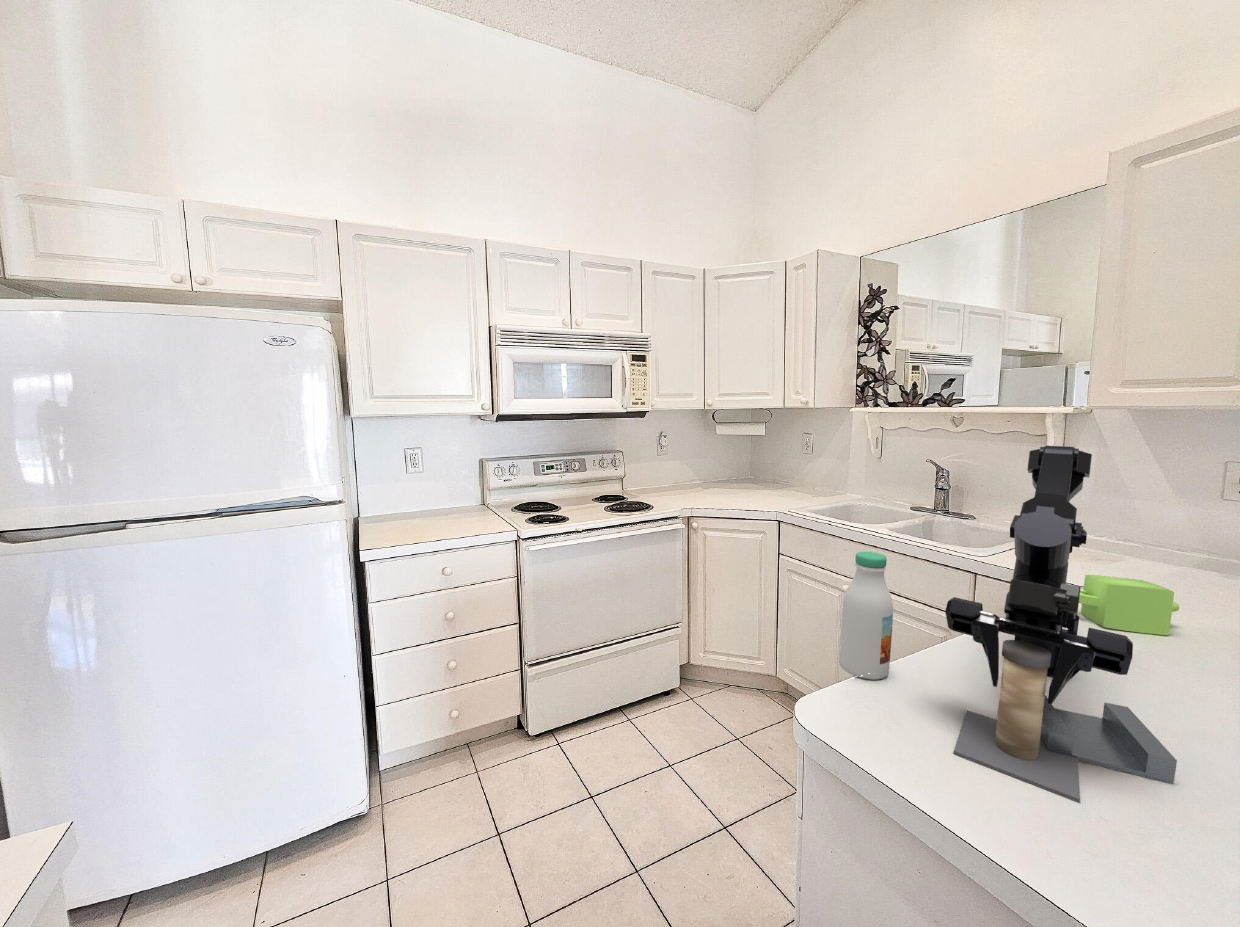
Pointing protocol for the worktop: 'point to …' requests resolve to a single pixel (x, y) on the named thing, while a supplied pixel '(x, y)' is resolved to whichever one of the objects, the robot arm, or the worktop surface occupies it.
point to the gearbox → (1127, 604)
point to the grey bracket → (1107, 741)
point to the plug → (1022, 698)
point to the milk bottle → (867, 620)
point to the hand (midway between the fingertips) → (1021, 693)
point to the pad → (1042, 772)
